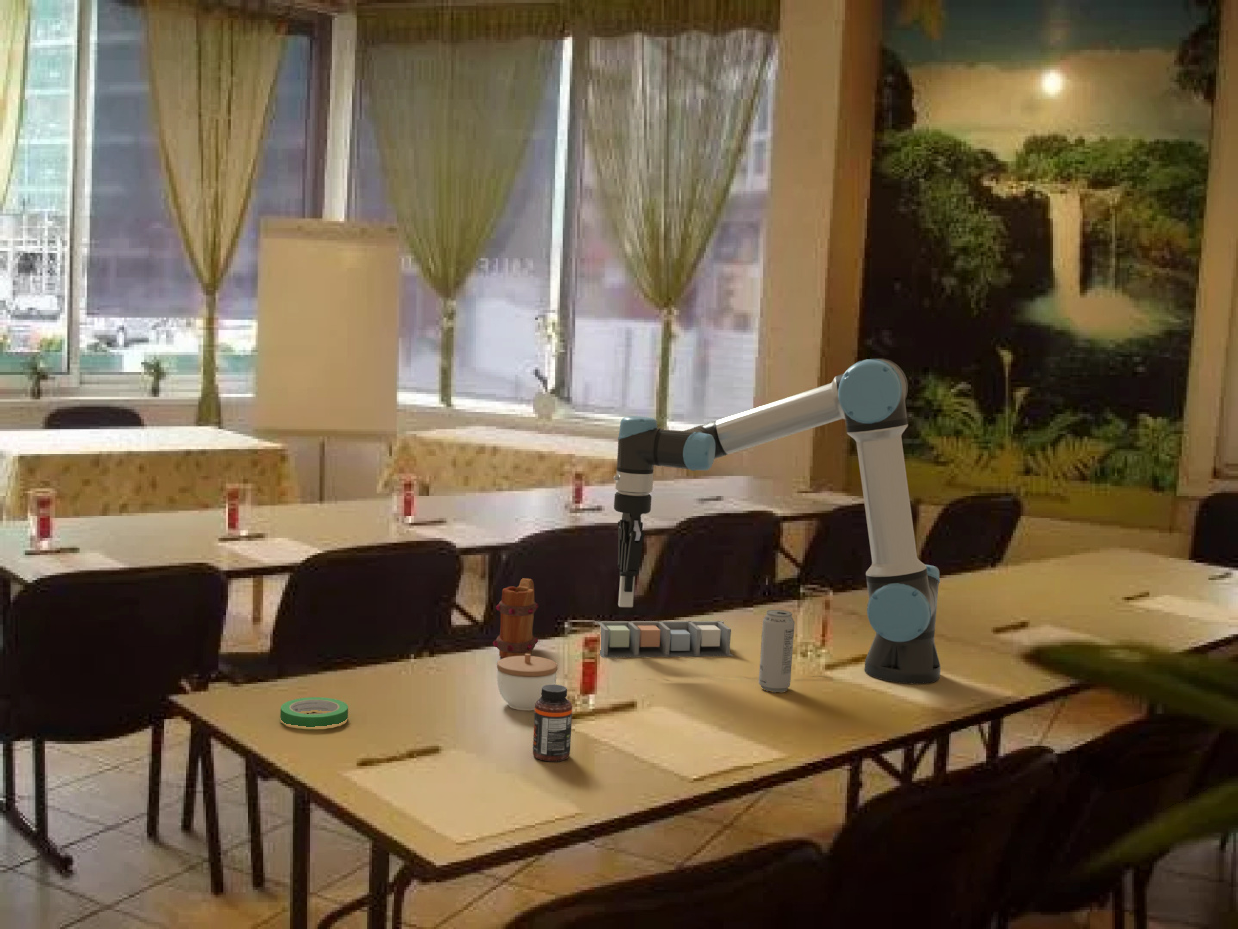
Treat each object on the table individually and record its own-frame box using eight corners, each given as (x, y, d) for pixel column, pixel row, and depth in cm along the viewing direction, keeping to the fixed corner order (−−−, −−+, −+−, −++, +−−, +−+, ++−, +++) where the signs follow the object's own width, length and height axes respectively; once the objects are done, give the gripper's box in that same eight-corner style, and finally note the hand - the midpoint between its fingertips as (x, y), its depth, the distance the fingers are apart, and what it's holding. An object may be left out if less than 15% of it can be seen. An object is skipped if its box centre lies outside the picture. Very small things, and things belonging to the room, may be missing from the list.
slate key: (689, 650, 294) (690, 634, 294) (670, 650, 294) (671, 634, 293) (683, 645, 298) (684, 629, 298) (665, 646, 297) (666, 629, 297)
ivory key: (719, 646, 296) (720, 629, 296) (701, 646, 295) (702, 629, 295) (713, 641, 300) (714, 625, 299) (695, 641, 299) (696, 625, 298)
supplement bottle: (531, 750, 229) (535, 681, 228) (568, 751, 230) (572, 682, 229) (532, 762, 223) (536, 692, 222) (570, 763, 224) (574, 693, 223)
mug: (528, 666, 281) (531, 591, 279) (488, 661, 282) (491, 587, 281) (546, 649, 295) (550, 577, 293) (508, 645, 297) (512, 574, 295)
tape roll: (317, 736, 231) (317, 720, 231) (266, 723, 237) (266, 707, 236) (361, 720, 241) (361, 705, 241) (311, 708, 246) (311, 693, 246)
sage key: (628, 647, 291) (629, 630, 291) (609, 647, 290) (610, 630, 290) (624, 642, 295) (624, 625, 295) (605, 642, 294) (606, 625, 294)
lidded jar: (509, 717, 247) (511, 664, 246) (485, 700, 256) (488, 649, 255) (565, 711, 252) (568, 659, 251) (540, 695, 261) (542, 645, 260)
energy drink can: (764, 683, 278) (769, 607, 276) (794, 688, 275) (799, 612, 274) (753, 689, 273) (759, 613, 271) (783, 695, 270) (789, 617, 268)
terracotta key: (659, 646, 293) (660, 630, 292) (640, 646, 292) (641, 630, 291) (654, 642, 297) (655, 625, 296) (635, 642, 296) (636, 625, 295)
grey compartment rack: (733, 660, 294) (735, 630, 293) (601, 662, 287) (603, 631, 286) (718, 648, 304) (720, 619, 303) (590, 649, 297) (592, 620, 296)
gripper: (608, 487, 295) (600, 599, 298) (623, 496, 282) (614, 613, 285) (643, 488, 297) (635, 599, 300) (659, 498, 284) (651, 614, 287)
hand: (625, 606), depth 292 cm, fingers closed
